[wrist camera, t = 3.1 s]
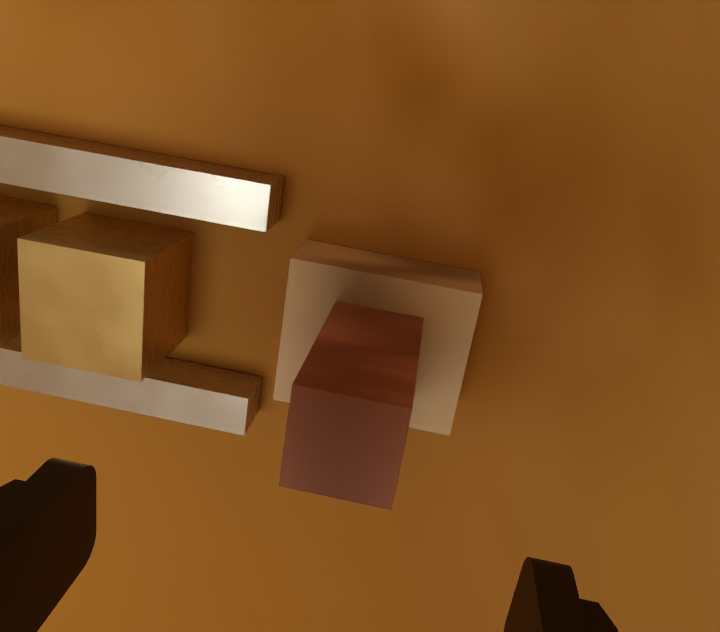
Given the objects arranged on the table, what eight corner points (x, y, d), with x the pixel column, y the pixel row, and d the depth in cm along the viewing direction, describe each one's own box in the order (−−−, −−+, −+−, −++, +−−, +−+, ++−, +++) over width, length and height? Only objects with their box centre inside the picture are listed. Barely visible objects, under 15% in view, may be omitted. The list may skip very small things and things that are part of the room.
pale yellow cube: (194, 231, 23) (144, 262, 20) (187, 335, 25) (141, 382, 21) (86, 211, 24) (16, 238, 20) (85, 315, 25) (21, 358, 21)
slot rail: (284, 176, 22) (270, 185, 20) (258, 411, 25) (244, 435, 24) (-107, 106, 23) (-151, 108, 21) (-85, 340, 26) (-121, 359, 25)
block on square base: (479, 271, 22) (493, 379, 14) (450, 400, 24) (447, 560, 16) (306, 239, 23) (228, 327, 15) (290, 368, 25) (212, 508, 17)
